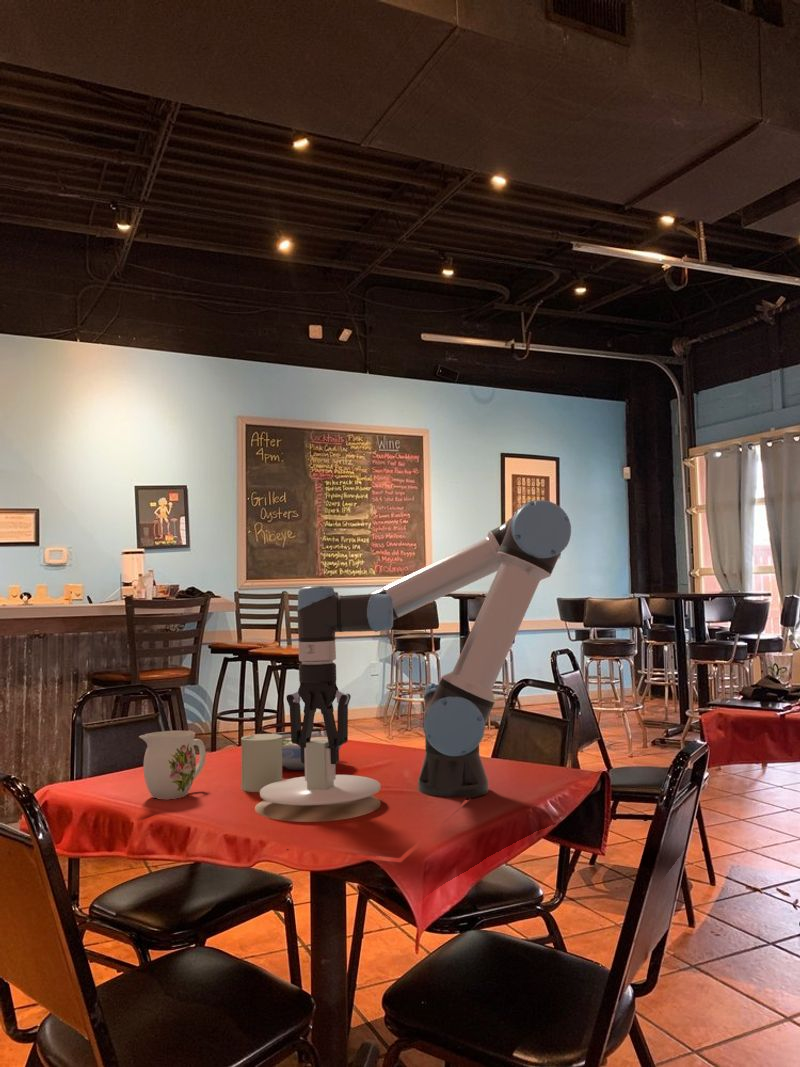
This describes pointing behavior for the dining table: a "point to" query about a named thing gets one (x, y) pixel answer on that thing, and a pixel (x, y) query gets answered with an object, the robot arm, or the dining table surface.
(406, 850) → the dining table surface
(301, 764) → the ramen bowl
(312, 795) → the lid
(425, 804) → the dining table surface
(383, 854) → the dining table surface
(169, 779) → the pitcher
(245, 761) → the can
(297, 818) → the disc
